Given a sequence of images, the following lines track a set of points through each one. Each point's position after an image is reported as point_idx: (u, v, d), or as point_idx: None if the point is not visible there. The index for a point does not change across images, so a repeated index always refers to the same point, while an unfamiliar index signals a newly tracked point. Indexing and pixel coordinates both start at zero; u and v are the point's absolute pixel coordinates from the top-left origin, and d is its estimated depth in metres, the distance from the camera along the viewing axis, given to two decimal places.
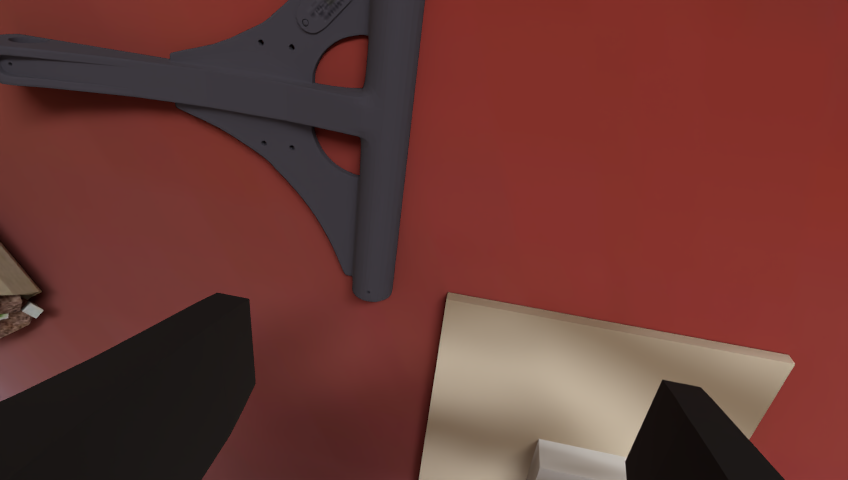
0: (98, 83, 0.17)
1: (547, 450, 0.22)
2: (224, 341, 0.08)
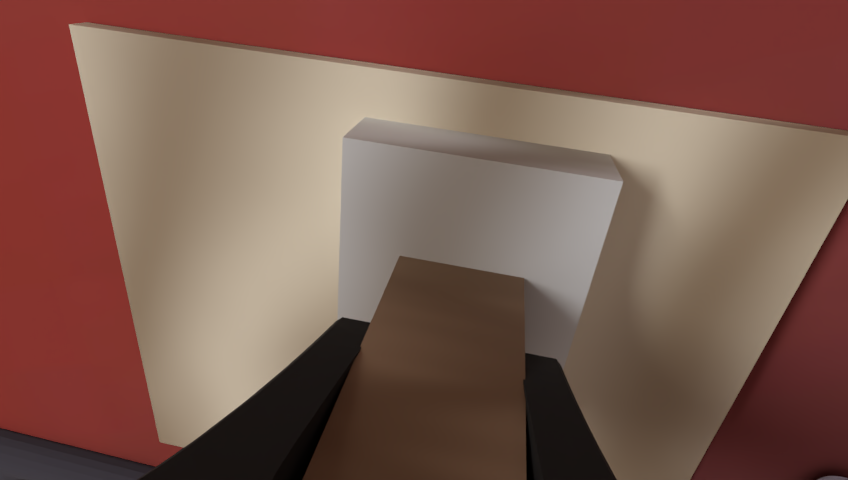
0: None
1: None
2: None
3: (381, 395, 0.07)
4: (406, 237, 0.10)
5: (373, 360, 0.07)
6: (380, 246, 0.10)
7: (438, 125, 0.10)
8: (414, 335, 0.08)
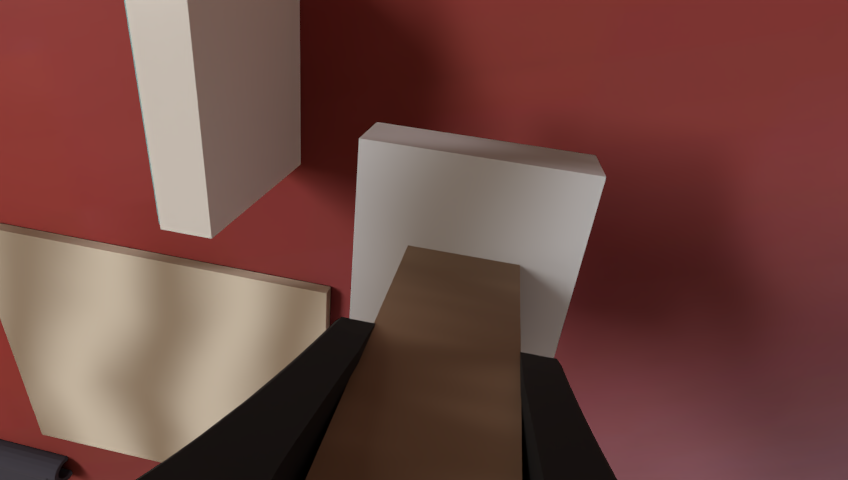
0: None
1: None
2: None
3: (397, 354, 0.08)
4: (414, 228, 0.11)
5: (388, 328, 0.08)
6: (391, 237, 0.11)
7: (143, 276, 0.21)
8: (423, 309, 0.09)
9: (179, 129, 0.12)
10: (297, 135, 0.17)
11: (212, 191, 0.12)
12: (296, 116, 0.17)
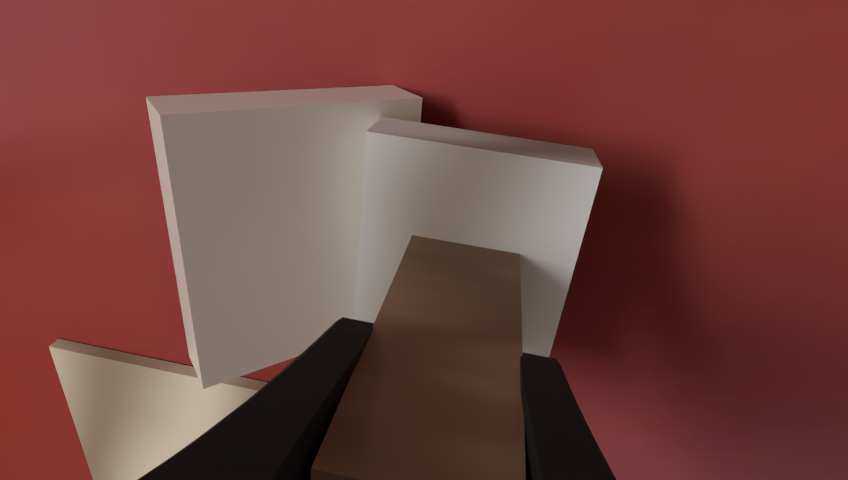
0: None
1: None
2: None
3: (404, 334, 0.08)
4: (418, 218, 0.11)
5: (395, 310, 0.09)
6: (395, 227, 0.12)
7: (239, 404, 0.20)
8: (428, 293, 0.09)
9: (183, 288, 0.12)
10: None
11: (207, 348, 0.12)
12: None
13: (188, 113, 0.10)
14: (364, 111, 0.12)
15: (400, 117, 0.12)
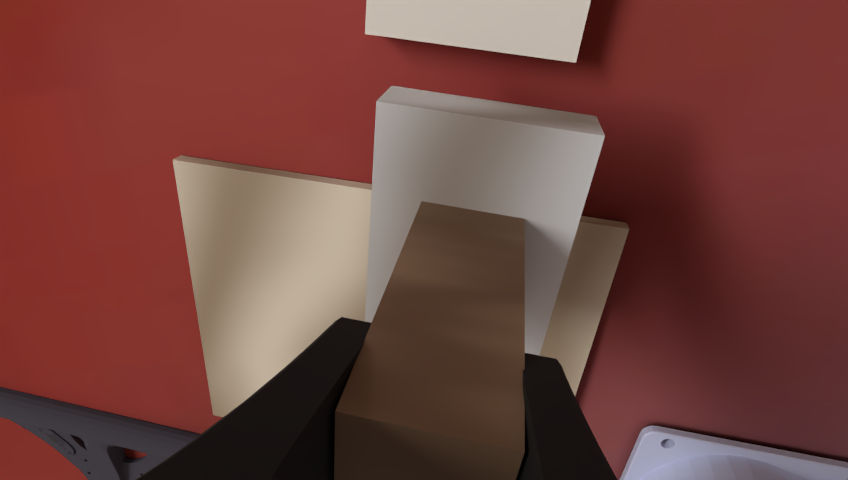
0: None
1: None
2: None
3: (415, 294, 0.09)
4: (427, 185, 0.12)
5: (407, 272, 0.10)
6: (405, 194, 0.12)
7: None
8: (437, 256, 0.10)
9: None
10: (574, 16, 0.13)
11: None
12: None
13: None
14: None
15: None
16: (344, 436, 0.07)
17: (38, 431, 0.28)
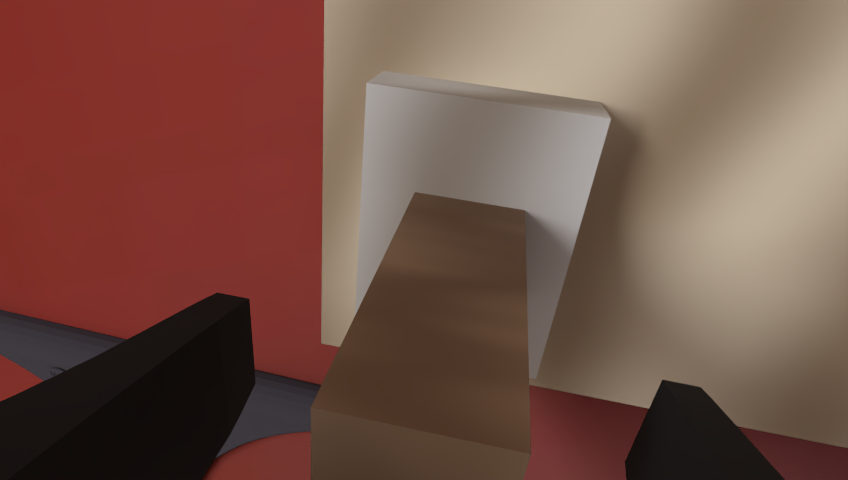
0: None
1: None
2: (224, 341, 0.08)
3: (406, 283, 0.08)
4: (421, 174, 0.11)
5: (397, 261, 0.09)
6: (398, 184, 0.11)
7: None
8: (431, 246, 0.09)
9: None
10: None
11: None
12: None
13: None
14: None
15: None
16: (322, 438, 0.06)
17: (49, 375, 0.19)
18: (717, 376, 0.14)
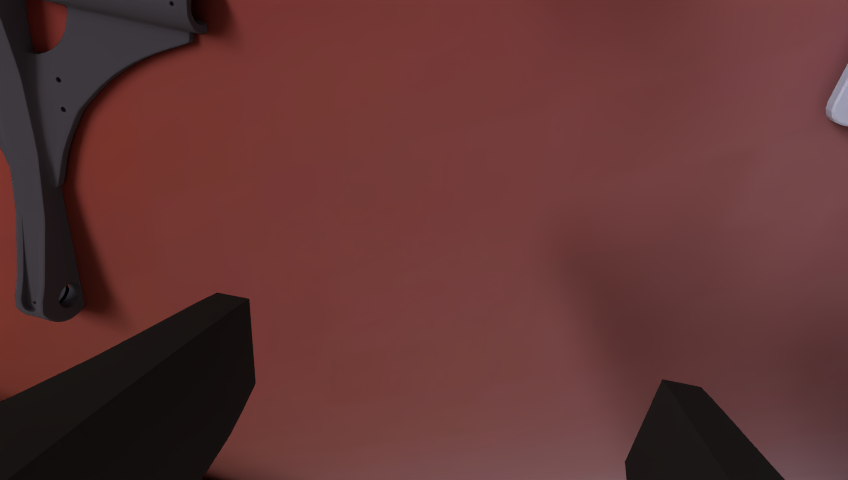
0: (38, 242, 0.20)
1: None
2: (224, 341, 0.08)
3: None
4: None
5: None
6: None
7: None
8: None
9: None
10: None
11: None
12: None
13: None
14: None
15: None
16: None
17: None
18: None
